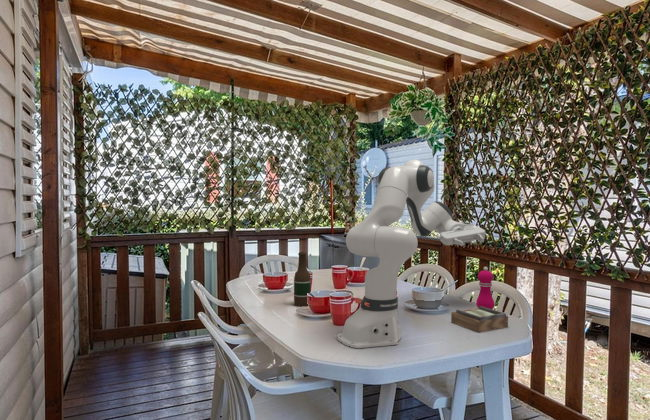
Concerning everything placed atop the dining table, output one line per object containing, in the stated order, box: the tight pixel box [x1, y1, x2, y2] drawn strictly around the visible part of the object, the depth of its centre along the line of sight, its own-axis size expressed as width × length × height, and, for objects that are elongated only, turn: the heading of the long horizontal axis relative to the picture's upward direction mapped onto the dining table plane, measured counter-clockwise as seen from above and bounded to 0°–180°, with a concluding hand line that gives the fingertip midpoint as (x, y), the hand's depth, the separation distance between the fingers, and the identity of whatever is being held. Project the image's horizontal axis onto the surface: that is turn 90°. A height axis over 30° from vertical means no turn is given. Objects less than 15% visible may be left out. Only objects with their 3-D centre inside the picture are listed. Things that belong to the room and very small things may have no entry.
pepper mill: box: [475, 266, 495, 310], centre depth 183 cm, size 7×7×20 cm
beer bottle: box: [293, 251, 312, 308], centre depth 200 cm, size 8×8×24 cm
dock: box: [450, 306, 509, 333], centre depth 169 cm, size 15×14×5 cm
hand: (472, 242), depth 187 cm, fingers open, 8 cm apart
